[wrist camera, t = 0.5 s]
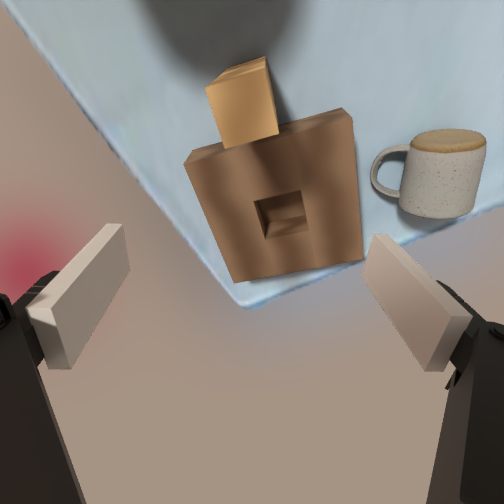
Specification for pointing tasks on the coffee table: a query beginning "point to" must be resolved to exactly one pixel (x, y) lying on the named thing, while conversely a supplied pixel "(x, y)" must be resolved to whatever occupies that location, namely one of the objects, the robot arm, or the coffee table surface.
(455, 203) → the ceramic mug
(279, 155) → the walnut socket block
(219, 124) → the oak peg
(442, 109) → the coffee table surface
